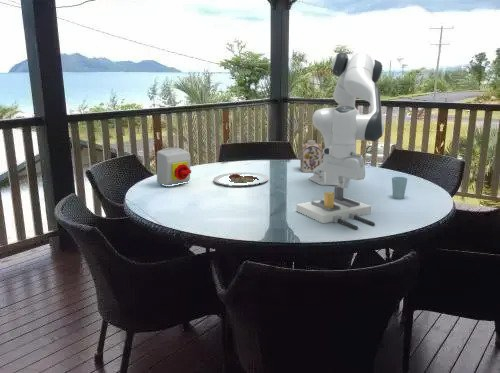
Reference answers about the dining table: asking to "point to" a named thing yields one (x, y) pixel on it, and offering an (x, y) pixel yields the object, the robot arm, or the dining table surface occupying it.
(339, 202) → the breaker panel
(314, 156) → the decorative jar
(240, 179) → the plated food
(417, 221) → the dining table surface
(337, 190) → the charcoal toggle
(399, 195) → the cup
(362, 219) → the power cords
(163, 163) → the electrical switch box
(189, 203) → the dining table surface
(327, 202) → the amber toggle
